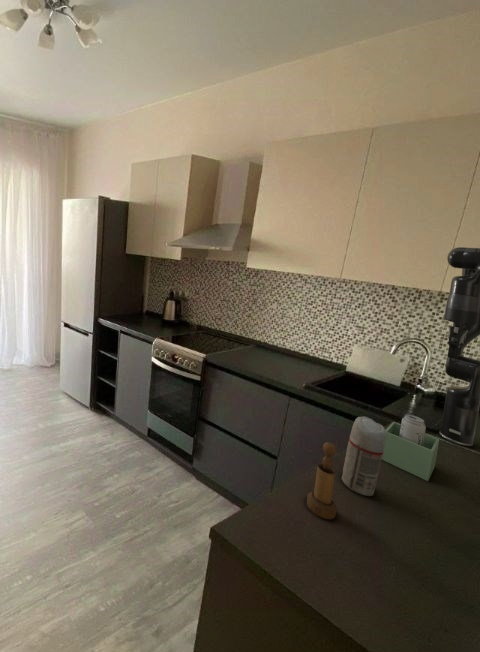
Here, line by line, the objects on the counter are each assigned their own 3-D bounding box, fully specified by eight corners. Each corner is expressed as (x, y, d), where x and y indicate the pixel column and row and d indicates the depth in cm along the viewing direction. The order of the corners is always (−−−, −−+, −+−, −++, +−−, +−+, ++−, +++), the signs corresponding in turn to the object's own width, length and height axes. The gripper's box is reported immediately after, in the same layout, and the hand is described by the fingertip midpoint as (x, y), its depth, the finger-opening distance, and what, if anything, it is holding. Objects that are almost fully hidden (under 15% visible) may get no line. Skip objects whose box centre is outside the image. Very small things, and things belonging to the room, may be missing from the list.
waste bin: (388, 447, 120) (393, 421, 119) (434, 467, 111) (439, 439, 110) (379, 458, 112) (384, 431, 112) (428, 481, 103) (433, 451, 102)
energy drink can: (413, 468, 107) (420, 424, 106) (392, 456, 113) (398, 414, 112) (423, 465, 110) (430, 421, 109) (401, 453, 115) (408, 412, 114)
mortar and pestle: (301, 498, 90) (310, 435, 88) (323, 499, 90) (332, 436, 89) (317, 519, 83) (328, 451, 82) (341, 520, 84) (352, 452, 82)
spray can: (371, 483, 99) (382, 419, 98) (379, 502, 92) (391, 433, 90) (338, 472, 102) (348, 410, 101) (344, 489, 95) (354, 423, 94)
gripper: (476, 312, 101) (467, 363, 102) (480, 309, 110) (472, 356, 111) (443, 306, 107) (434, 355, 108) (449, 304, 116) (441, 349, 117)
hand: (453, 356), depth 109 cm, fingers open, 8 cm apart
